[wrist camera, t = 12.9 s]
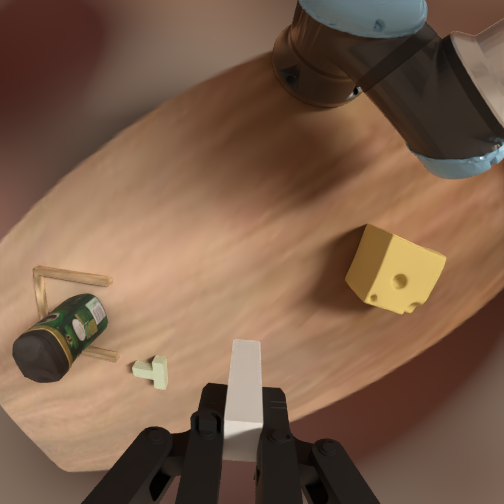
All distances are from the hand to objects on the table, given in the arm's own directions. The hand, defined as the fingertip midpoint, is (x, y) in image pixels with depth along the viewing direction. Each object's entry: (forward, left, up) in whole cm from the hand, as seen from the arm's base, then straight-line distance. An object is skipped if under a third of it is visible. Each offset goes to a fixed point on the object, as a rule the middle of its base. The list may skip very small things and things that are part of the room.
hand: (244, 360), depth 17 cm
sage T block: (+24, -16, -29) cm, 41 cm away
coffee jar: (+15, -29, -30) cm, 44 cm away
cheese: (0, +21, -30) cm, 36 cm away
